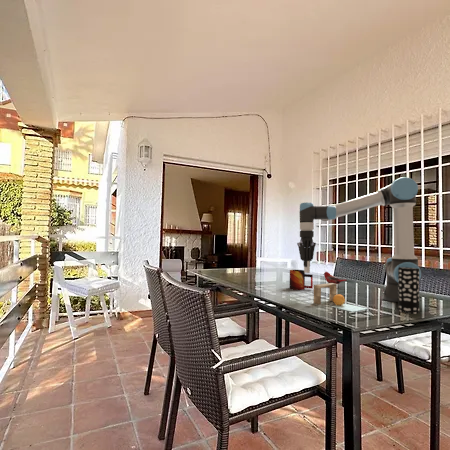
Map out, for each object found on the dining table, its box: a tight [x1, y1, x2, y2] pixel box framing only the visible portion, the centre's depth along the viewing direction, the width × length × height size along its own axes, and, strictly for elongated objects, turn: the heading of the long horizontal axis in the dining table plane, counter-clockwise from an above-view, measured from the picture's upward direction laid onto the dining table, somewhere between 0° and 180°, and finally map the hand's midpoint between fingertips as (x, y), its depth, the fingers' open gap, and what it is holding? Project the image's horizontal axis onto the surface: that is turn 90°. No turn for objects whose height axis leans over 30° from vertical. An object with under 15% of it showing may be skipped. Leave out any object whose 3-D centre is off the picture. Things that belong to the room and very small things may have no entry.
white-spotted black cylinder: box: [397, 267, 420, 315], centre depth 141 cm, size 8×8×20 cm
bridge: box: [313, 282, 338, 305], centre depth 158 cm, size 3×14×9 cm, turn 123°
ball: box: [332, 293, 346, 306], centre depth 151 cm, size 6×6×6 cm
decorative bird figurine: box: [323, 271, 347, 285], centre depth 207 cm, size 3×18×10 cm, turn 42°
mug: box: [289, 269, 314, 291], centre depth 198 cm, size 10×14×12 cm
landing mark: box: [330, 303, 368, 313], centre depth 146 cm, size 12×12×1 cm
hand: (306, 272), depth 169 cm, fingers closed
